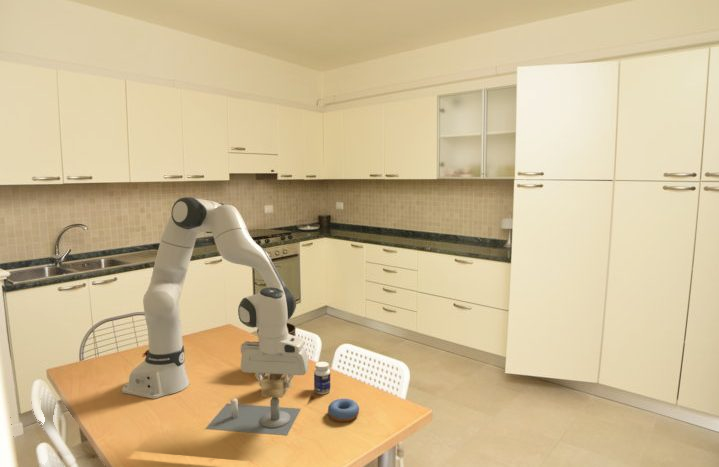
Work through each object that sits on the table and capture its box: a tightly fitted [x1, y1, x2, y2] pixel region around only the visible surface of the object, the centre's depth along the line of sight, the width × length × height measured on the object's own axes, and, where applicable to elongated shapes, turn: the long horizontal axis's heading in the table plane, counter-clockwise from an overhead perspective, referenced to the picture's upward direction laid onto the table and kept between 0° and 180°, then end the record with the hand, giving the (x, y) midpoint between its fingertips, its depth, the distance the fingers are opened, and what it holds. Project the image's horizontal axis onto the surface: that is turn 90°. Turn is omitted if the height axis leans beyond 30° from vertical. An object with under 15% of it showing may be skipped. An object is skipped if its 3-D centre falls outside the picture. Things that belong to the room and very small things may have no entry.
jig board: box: [204, 397, 302, 436], centre depth 138 cm, size 25×15×9 cm, turn 82°
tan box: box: [260, 374, 289, 399], centre depth 137 cm, size 6×6×5 cm
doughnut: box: [327, 398, 360, 423], centre depth 143 cm, size 10×10×5 cm
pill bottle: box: [313, 361, 331, 395], centre depth 158 cm, size 6×6×10 cm
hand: (275, 386), depth 137 cm, fingers closed on tan box, 6 cm apart
